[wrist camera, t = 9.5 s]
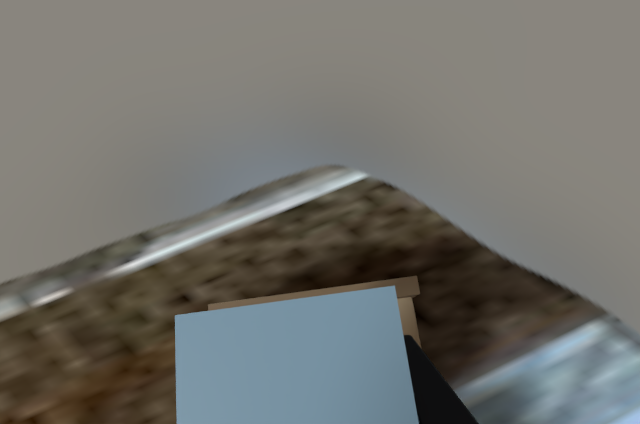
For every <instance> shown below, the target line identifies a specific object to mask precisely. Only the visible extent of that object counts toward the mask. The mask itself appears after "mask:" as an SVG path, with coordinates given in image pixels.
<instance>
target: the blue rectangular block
mask: <svg viewBox="0 0 640 424" xmlns="http://www.w3.org/2000/svg"><path fill="white" fill-rule="evenodd" d="M175 348H176V407H177V424H419V422H418V416H417V410H416V404H415V399H414V393H413V387H412V382H411V376H410V370H409V364H408V359H407V353H406V347H405V341H404V336H403V330H402V324H401V318H400V313H399V307H398V301H397V296H396V290H395V286H388V287H380V288H373V289H366V290H358V291H351V292H344V293H336V294H329V295H321V296H314V297H307V298H299V299H292V300H285V301H277V302H270V303H263V304H255V305H248V306H241V307H233V308H226V309H218V310H211V311H204V312H196V313H189V314H182V315H175Z"/></svg>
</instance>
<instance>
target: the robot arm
mask: <svg viewBox="0 0 640 424" xmlns="http://www.w3.org/2000/svg"><path fill="white" fill-rule="evenodd" d="M403 336H404V341H405V347H406V353H407V359H408V364H409V370H410V376H411V382H412V387H413V393H414V399H415V404H416V410H417V416H418V422H419V424H479V423H478V422H477V421H476V420H475V418H474V417H473V416H472V414H471V413H470V412H469V410H468V409H467V408H466V406H465V405H464V404H463V403H462V401H461V400H460V399H459V397H458V396H457V395H456V393H455V392H454V391H453V389H452V388H451V387H450V386H449V384H448V383H447V382H446V380H445V379H444V378H443V376H442V375H441V374H440V372H439V371H438V370H437V369H436V367H435V366H434V365H433V363H432V362H431V361H430V359H429V358H428V357H427V355H426V354H425V353H424V352H423V350H422V349H421V348H420V346H419V345H418V344H417V342H416V341H415V340H414V338H413V337H412V336H411V335H403Z"/></svg>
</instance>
